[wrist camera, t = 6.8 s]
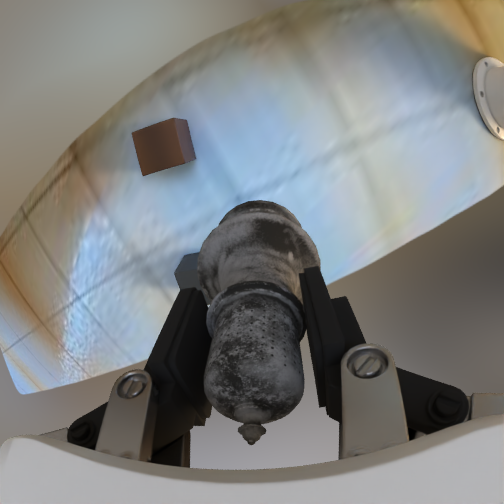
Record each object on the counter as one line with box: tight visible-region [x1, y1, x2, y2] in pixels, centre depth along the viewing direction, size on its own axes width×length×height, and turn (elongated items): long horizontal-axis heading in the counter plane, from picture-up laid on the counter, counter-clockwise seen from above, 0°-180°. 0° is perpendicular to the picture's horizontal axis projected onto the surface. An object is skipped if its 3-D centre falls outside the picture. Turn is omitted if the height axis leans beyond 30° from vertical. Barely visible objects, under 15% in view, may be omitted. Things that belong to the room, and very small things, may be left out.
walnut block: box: [132, 118, 196, 176], centre depth 25 cm, size 4×4×4 cm
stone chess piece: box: [197, 200, 320, 445], centre depth 11 cm, size 6×6×12 cm
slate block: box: [174, 252, 211, 305], centre depth 31 cm, size 4×4×4 cm
